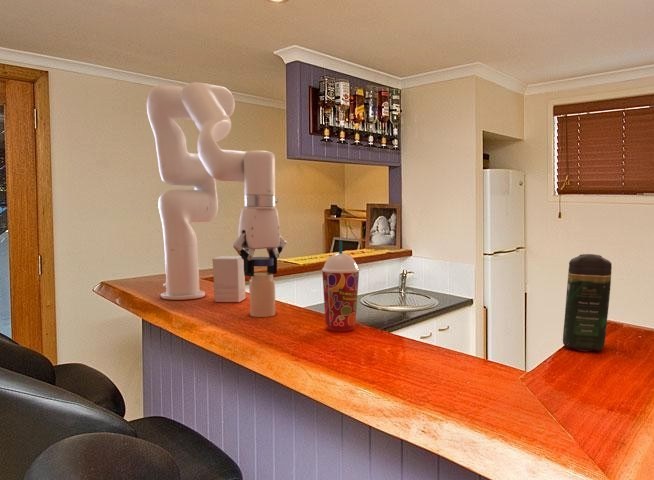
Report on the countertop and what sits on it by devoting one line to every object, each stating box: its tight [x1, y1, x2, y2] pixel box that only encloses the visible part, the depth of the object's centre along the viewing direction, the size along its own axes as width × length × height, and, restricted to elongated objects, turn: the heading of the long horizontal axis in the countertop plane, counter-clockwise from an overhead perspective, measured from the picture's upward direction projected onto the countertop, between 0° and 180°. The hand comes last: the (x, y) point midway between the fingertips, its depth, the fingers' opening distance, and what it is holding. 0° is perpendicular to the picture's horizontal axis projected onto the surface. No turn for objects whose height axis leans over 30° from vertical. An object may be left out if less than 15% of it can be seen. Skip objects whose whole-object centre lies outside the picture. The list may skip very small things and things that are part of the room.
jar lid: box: [252, 256, 274, 267], centre depth 140 cm, size 7×7×2 cm
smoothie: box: [321, 240, 360, 333], centre depth 125 cm, size 8×8×20 cm
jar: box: [248, 272, 277, 318], centre depth 141 cm, size 6×6×10 cm
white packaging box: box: [211, 255, 247, 303], centre depth 161 cm, size 7×7×13 cm
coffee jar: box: [562, 253, 613, 352], centre depth 111 cm, size 10×8×19 cm
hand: (260, 273), depth 141 cm, fingers closed on jar lid, 6 cm apart
